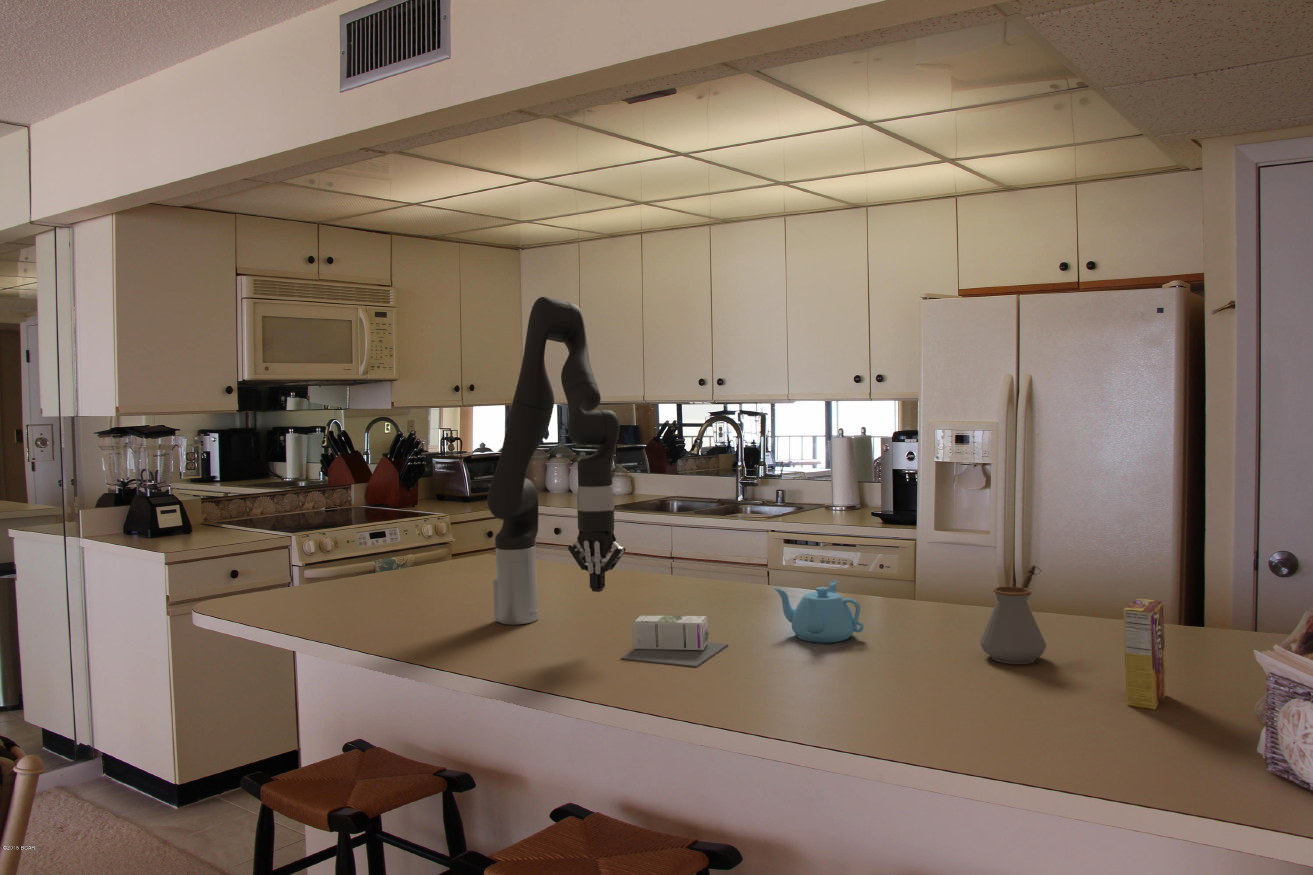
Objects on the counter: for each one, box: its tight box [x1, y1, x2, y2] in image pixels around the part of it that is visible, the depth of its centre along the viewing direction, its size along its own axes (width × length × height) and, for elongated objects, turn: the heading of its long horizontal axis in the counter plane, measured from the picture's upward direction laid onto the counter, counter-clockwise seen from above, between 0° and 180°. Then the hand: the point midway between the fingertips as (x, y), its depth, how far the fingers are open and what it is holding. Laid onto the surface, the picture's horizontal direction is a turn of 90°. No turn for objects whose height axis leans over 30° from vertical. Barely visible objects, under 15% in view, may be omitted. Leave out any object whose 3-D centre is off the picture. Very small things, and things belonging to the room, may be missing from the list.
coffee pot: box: [979, 564, 1047, 665], centre depth 171 cm, size 21×12×15 cm, turn 142°
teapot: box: [773, 579, 865, 644], centre depth 186 cm, size 15×15×10 cm
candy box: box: [1122, 598, 1168, 710], centre depth 142 cm, size 9×4×15 cm, turn 140°
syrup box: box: [631, 614, 710, 650], centre depth 181 cm, size 6×6×14 cm
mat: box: [620, 641, 729, 668], centre depth 179 cm, size 16×16×1 cm
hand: (597, 590), depth 185 cm, fingers closed
